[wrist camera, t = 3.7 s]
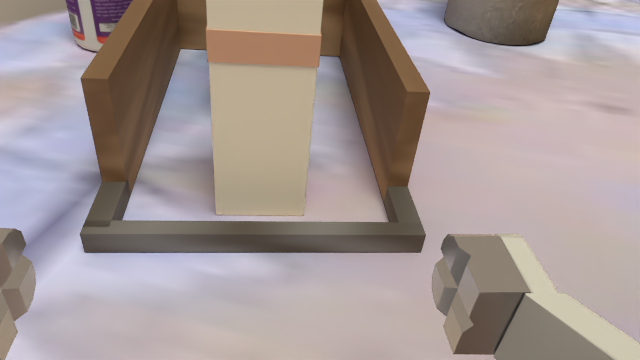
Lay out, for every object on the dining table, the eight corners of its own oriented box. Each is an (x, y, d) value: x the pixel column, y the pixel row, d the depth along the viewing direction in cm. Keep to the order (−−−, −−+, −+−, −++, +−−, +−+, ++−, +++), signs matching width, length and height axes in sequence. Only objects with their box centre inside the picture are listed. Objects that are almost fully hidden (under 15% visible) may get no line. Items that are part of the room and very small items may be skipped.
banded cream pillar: (299, 165, 26) (315, -34, 20) (304, 216, 23) (325, -4, 17) (220, 163, 26) (213, -42, 20) (214, 215, 23) (203, -12, 17)
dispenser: (350, 51, 40) (368, -90, 34) (420, 251, 22) (486, 27, 16) (168, 42, 38) (155, -108, 32) (84, 252, 20) (18, -1, 14)
